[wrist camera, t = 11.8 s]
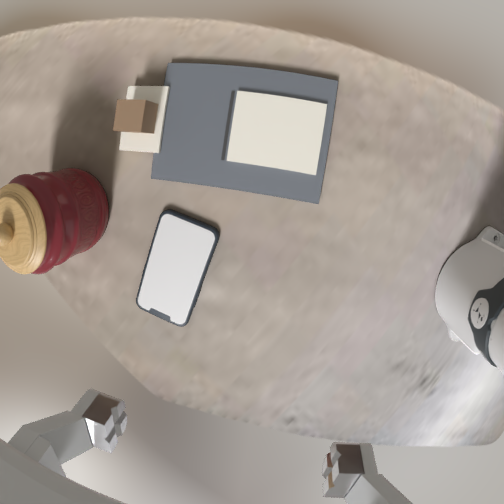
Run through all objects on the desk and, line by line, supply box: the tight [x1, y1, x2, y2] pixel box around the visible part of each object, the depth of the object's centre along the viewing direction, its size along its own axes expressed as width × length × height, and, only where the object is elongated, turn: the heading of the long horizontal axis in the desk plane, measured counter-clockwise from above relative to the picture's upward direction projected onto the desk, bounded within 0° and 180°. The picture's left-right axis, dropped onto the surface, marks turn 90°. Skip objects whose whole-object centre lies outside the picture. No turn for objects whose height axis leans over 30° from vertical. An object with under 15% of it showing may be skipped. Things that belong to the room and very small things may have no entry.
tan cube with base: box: [113, 86, 170, 153], centre depth 36 cm, size 6×9×4 cm, turn 172°
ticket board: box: [151, 63, 338, 204], centre depth 38 cm, size 22×16×2 cm
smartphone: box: [136, 209, 219, 326], centre depth 45 cm, size 9×2×16 cm
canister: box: [0, 168, 109, 274], centre depth 36 cm, size 13×13×18 cm
